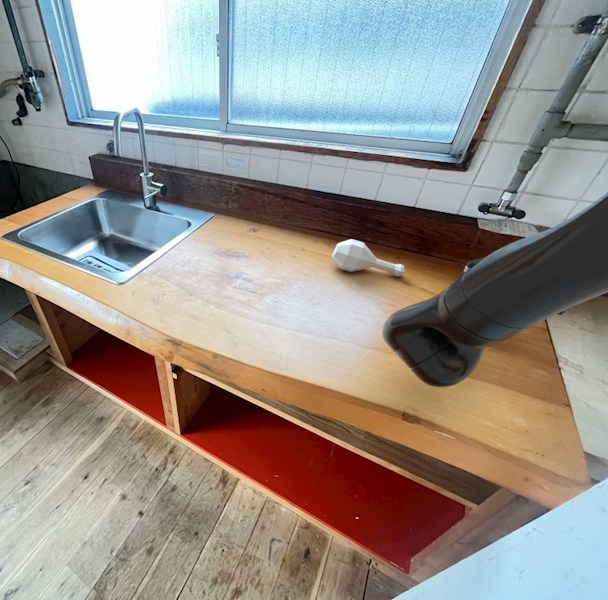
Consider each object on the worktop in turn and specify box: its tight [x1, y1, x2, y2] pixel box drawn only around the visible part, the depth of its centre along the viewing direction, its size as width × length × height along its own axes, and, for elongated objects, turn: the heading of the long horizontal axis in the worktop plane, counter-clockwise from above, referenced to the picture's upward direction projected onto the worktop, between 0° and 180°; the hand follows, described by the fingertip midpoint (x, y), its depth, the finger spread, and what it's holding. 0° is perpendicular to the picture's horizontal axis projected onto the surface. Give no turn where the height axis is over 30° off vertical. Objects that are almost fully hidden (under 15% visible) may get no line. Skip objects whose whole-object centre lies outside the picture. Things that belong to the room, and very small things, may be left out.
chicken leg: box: [331, 238, 406, 278], centre depth 86 cm, size 8×18×8 cm, turn 70°
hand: (537, 267), depth 54 cm, fingers closed on energy drink, 5 cm apart
